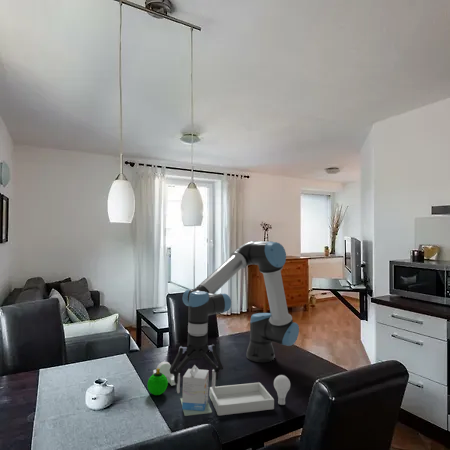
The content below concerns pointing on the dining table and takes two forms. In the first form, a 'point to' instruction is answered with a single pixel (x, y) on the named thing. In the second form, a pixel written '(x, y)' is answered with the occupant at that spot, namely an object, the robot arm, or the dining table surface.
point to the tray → (240, 398)
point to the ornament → (157, 383)
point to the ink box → (195, 389)
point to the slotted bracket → (166, 372)
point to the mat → (195, 412)
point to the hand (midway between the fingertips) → (196, 390)
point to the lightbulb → (281, 388)
